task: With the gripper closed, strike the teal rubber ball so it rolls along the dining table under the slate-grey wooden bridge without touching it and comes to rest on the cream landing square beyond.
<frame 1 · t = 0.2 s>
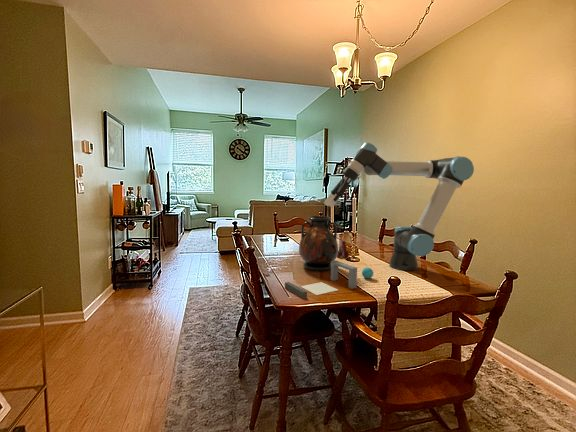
hand: (327, 205, 156), 35 cm above the table, tool tilted 35°, fingers open, 13 cm apart
stopper: (295, 292, 132), on the table
ball: (367, 272, 153), on the table
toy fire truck: (341, 257, 197), on the table
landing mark: (319, 288, 138), on the table
amphora vase: (317, 268, 171), on the table
bridge: (342, 283, 145), on the table
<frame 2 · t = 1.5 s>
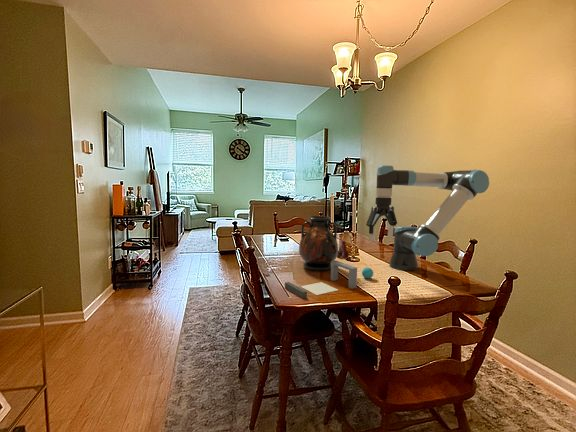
hand: (381, 239, 157), 19 cm above the table, tool pointing down, fingers open, 13 cm apart
nothing on the table moved.
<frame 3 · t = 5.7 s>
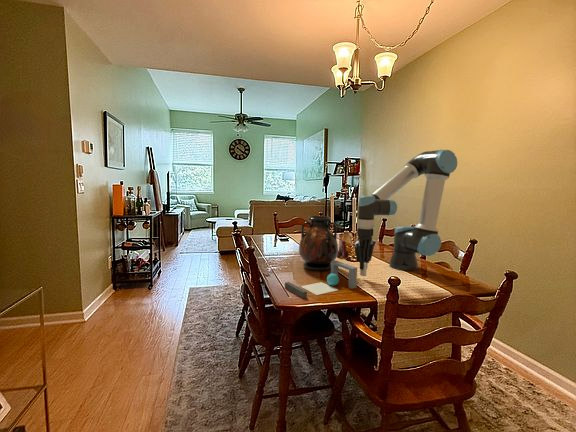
hand: (363, 275, 152), 2 cm above the table, tool pointing down, fingers closed
ball: (332, 279, 142), on the table
everything else where it was.
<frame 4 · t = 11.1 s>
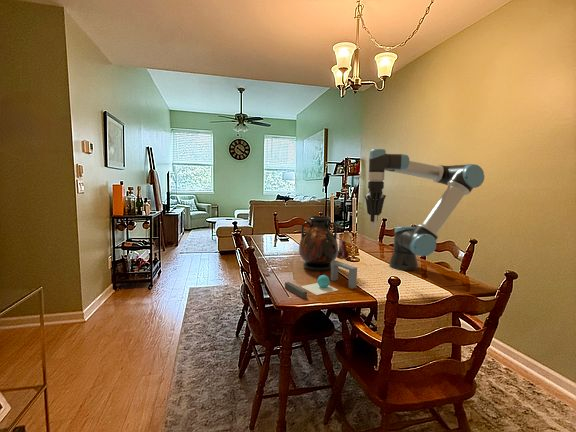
hand: (373, 228, 157), 24 cm above the table, tool pointing down, fingers closed
ball: (323, 281, 139), on the table
everything else where it was.
at the end: ball 2.7 cm from the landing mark (horizontally); ball never touched bridge; ball at rest at the end (0.0 cm/s) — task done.
